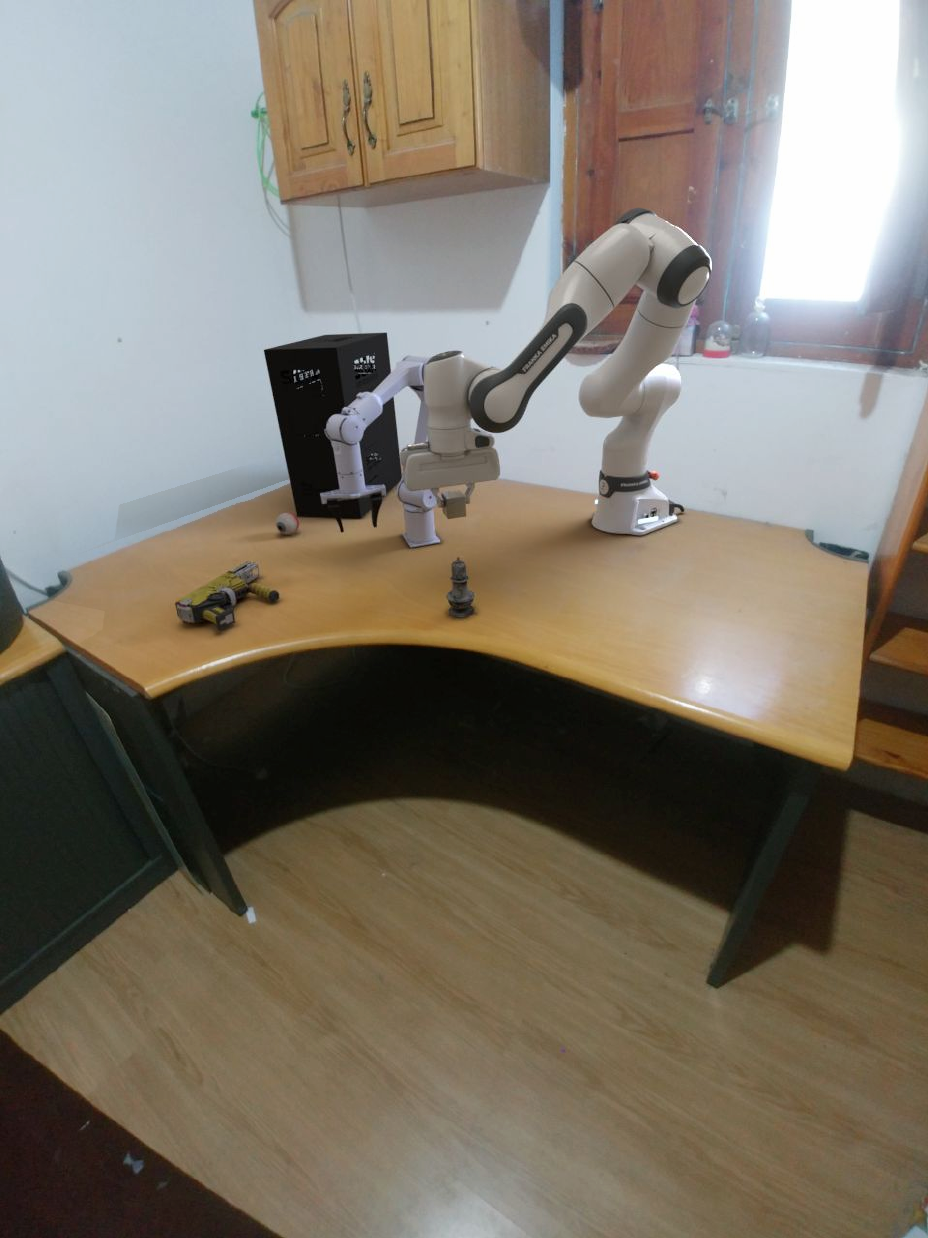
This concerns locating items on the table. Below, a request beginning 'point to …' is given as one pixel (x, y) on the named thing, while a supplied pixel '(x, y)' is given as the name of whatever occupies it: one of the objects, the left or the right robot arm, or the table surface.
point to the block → (454, 504)
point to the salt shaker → (460, 591)
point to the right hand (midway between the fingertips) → (453, 505)
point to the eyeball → (287, 523)
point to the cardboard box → (319, 402)
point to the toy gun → (222, 597)
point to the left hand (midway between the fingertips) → (358, 528)
